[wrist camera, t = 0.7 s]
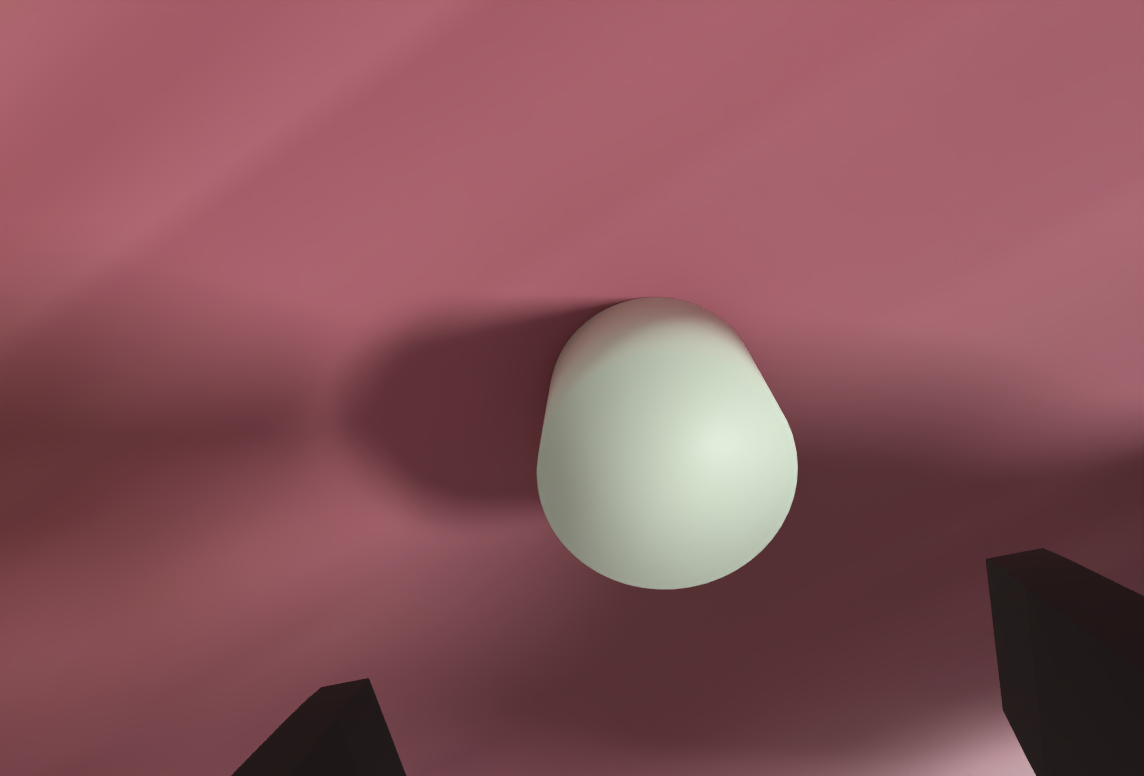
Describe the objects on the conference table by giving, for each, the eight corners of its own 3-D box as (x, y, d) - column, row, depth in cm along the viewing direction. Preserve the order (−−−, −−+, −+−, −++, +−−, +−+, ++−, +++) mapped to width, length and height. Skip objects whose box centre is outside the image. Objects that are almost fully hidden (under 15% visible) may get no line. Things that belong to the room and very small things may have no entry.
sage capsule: (739, 275, 18) (776, 326, 14) (773, 471, 19) (814, 564, 16) (527, 321, 18) (508, 382, 15) (575, 509, 20) (569, 609, 16)
